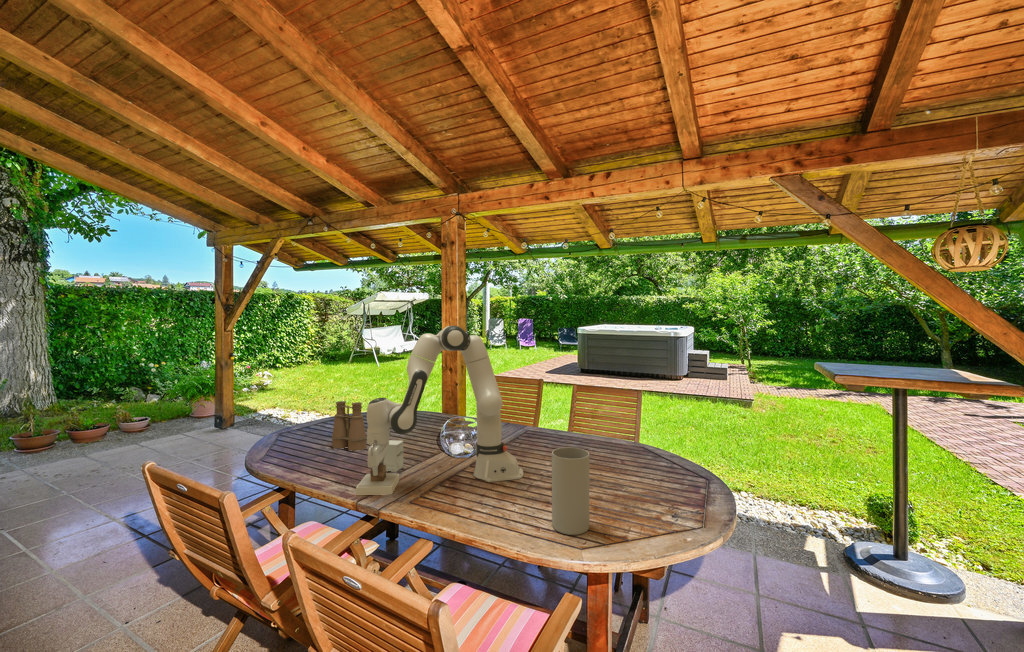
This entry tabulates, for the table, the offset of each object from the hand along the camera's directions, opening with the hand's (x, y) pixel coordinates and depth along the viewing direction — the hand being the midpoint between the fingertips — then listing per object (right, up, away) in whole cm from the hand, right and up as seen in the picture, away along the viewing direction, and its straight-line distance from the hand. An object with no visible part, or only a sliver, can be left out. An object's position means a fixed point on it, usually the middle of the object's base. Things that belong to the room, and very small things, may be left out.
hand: (378, 470), depth 174 cm
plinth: (0, -7, 0) cm, 7 cm away
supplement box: (-1, -7, +23) cm, 24 cm away
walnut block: (0, -3, 0) cm, 3 cm away
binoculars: (-34, -7, +55) cm, 65 cm away
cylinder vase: (+75, -8, -32) cm, 82 cm away
